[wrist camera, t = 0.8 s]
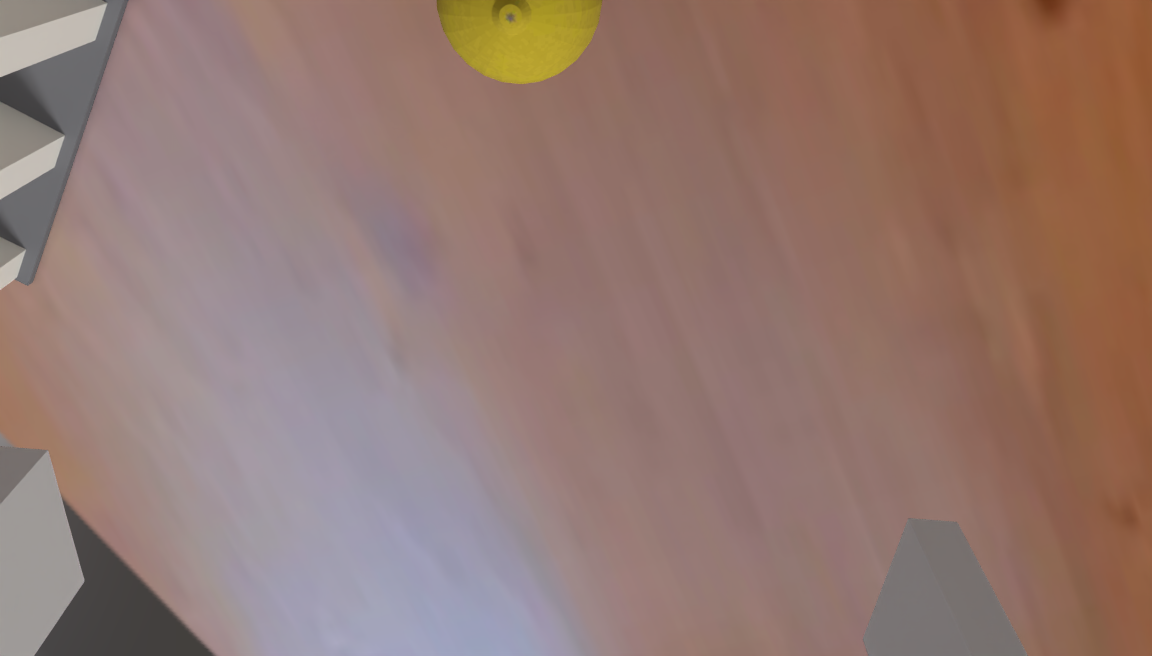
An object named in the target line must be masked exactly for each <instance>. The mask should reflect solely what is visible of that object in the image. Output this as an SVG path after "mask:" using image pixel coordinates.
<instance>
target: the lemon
mask: <svg viewBox="0 0 1152 656" xmlns="http://www.w3.org/2000/svg"><path fill="white" fill-rule="evenodd" d="M601 5H602V0H437V10H438V14H439V17H440V21H441V24H442V28H443V31H444V32H445V34H446V36H447V38H448V40H449V41H450V43H451V45H452V47H453V48H454V50H455V51H456V52H457V53H458V54H459V55H460V56H461V57H462V58H463V60H464V61H465V62H466V63H467V64H468V65H470V66H471V67H473V68H474V69H476V70H477V71H478V72H480V73H481V74H483V75H485V76H487V77H490V78H493V79H496V80H498V81H501V82H508V83H517V84H525V83H532V82H539V81H543V80H545V79H547V78H550V77H552V76H554V75H556V74H559V73H561V72H562V71H563V70H564V69H566V68H567V67H568V66H570V65H571V64H572V63H573V62H575V61H576V60H577V59H578V57H579V56H580V55H581V54H582V52H583V51H584V50H585V48H586V47H587V46H588V44H589V43H590V41H591V39H592V37H593V34H594V32H595V30H596V27H597V25H598V22H599V17H600V11H601Z"/></svg>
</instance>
